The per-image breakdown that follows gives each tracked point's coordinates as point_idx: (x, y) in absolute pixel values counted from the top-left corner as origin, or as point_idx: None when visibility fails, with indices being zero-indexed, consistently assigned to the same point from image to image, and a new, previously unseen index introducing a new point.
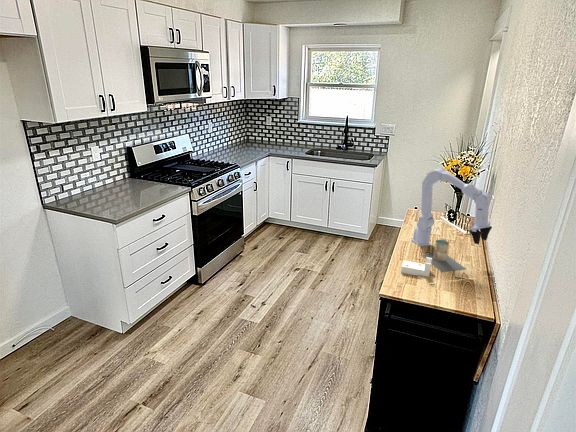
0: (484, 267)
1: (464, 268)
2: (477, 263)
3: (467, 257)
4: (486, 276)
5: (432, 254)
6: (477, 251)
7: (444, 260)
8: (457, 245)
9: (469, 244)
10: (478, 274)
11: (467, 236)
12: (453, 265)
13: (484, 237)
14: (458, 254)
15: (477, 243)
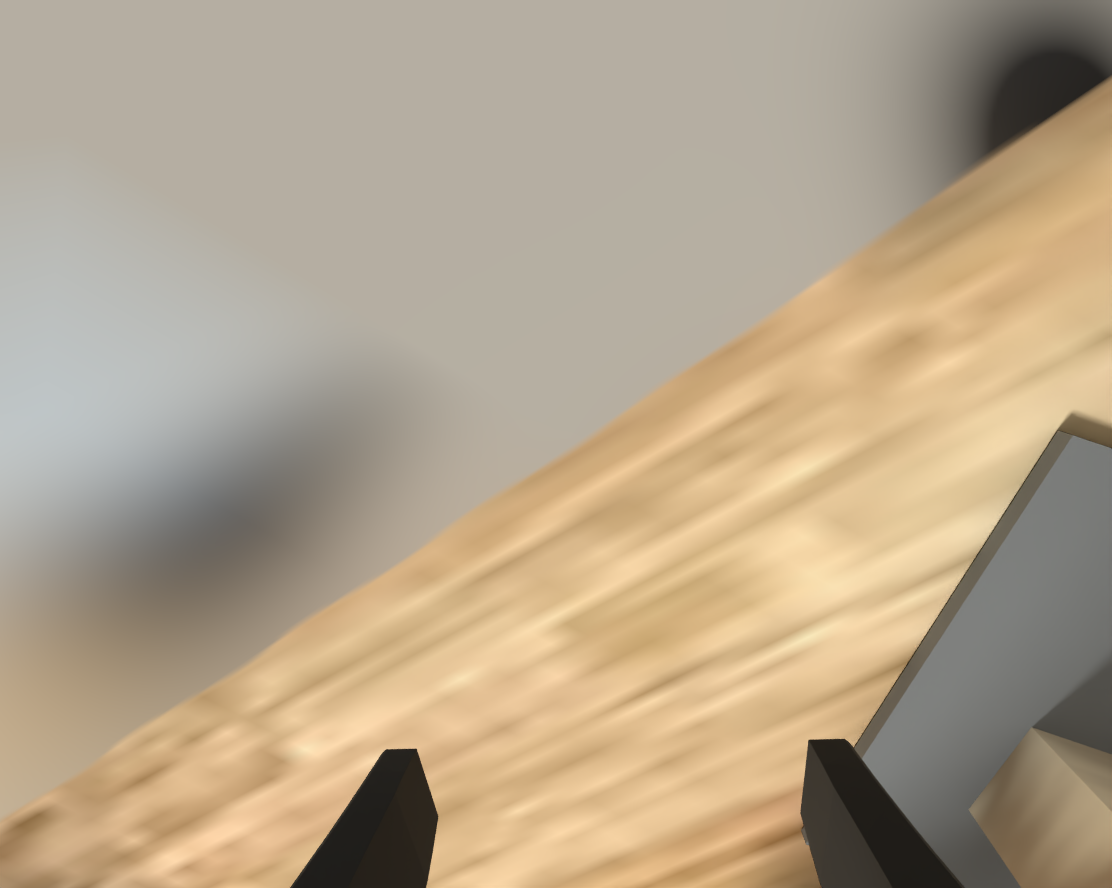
0: (730, 344)
1: (1078, 466)
2: (693, 469)
3: (639, 631)
4: (1025, 137)
5: (982, 885)
6: (364, 652)
7: (1049, 736)
8: (444, 842)
9: (291, 787)
10: (1057, 251)
11: (144, 885)
12: (1106, 599)
13: (400, 854)
14: (659, 728)
15: (861, 770)
